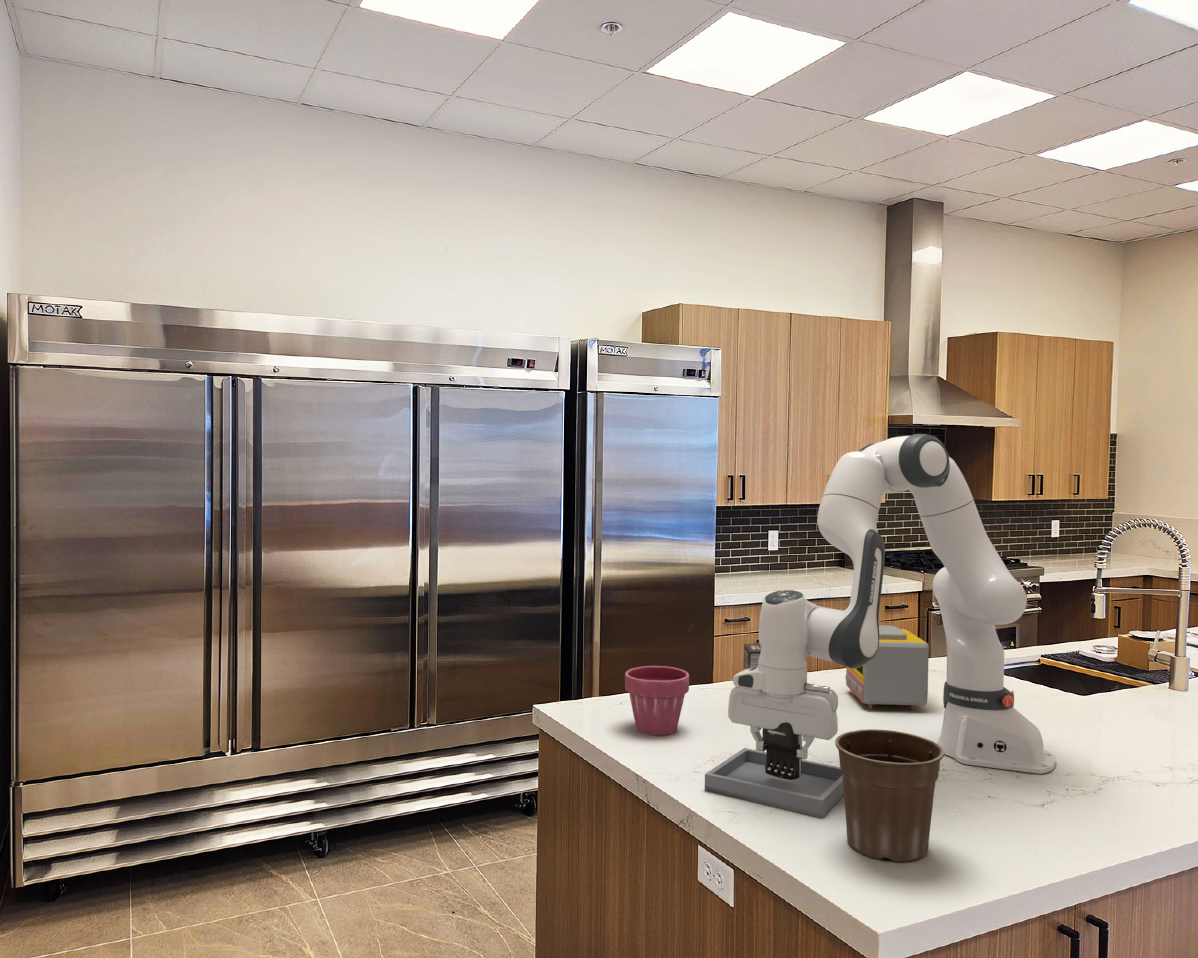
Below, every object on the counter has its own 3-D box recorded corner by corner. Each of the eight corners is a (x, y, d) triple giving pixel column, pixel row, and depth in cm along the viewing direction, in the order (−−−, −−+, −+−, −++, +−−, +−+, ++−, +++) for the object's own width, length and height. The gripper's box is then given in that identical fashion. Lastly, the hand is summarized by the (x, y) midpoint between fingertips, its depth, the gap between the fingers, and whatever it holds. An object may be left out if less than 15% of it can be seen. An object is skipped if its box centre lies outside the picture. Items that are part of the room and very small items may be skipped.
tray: (853, 785, 166) (854, 769, 166) (822, 817, 151) (822, 800, 151) (744, 762, 178) (744, 747, 178) (704, 790, 163) (704, 773, 162)
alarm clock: (843, 690, 235) (844, 621, 235) (904, 692, 234) (905, 622, 234) (862, 712, 215) (864, 636, 215) (928, 713, 215) (930, 637, 214)
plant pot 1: (616, 735, 194) (617, 677, 194) (633, 717, 208) (634, 663, 207) (681, 742, 190) (682, 682, 190) (693, 723, 203) (694, 668, 203)
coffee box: (742, 708, 217) (743, 642, 217) (768, 708, 217) (769, 643, 216) (747, 719, 208) (748, 650, 207) (775, 719, 208) (776, 651, 207)
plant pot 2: (898, 880, 129) (901, 769, 128) (811, 840, 142) (813, 740, 141) (962, 852, 138) (965, 749, 138) (875, 817, 151) (877, 723, 151)
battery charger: (759, 774, 165) (759, 713, 165) (770, 769, 168) (770, 709, 168) (793, 783, 160) (793, 720, 160) (803, 778, 163) (803, 716, 163)
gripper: (843, 684, 161) (842, 760, 161) (738, 668, 172) (737, 739, 172) (832, 691, 156) (831, 770, 156) (725, 675, 167) (724, 748, 167)
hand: (781, 754), depth 164 cm, fingers closed on battery charger, 6 cm apart
